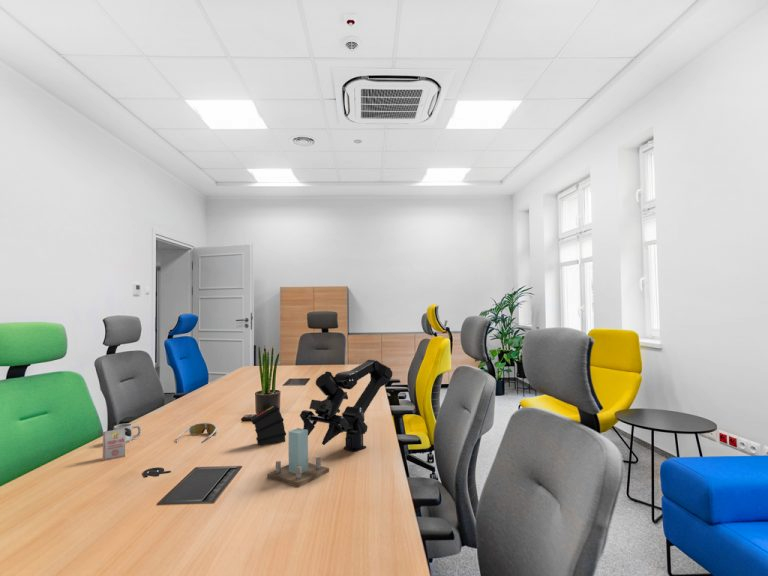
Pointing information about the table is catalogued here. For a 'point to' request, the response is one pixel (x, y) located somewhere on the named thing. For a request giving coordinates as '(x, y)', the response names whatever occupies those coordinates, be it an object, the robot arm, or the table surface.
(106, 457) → the small printed box
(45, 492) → the table surface
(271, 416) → the black ridged slab
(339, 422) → the robot arm
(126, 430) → the mug
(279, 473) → the pin stand
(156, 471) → the black flat pronged piece
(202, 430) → the sunglasses
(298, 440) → the block
